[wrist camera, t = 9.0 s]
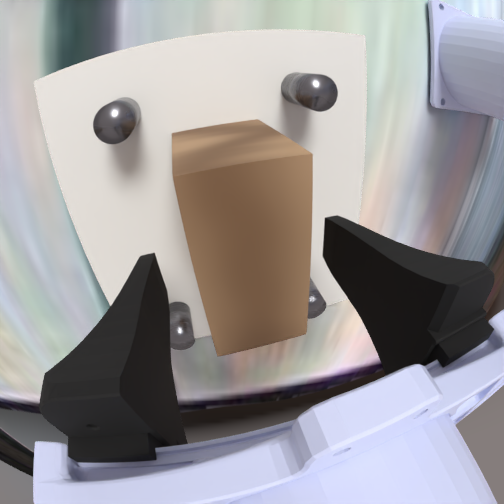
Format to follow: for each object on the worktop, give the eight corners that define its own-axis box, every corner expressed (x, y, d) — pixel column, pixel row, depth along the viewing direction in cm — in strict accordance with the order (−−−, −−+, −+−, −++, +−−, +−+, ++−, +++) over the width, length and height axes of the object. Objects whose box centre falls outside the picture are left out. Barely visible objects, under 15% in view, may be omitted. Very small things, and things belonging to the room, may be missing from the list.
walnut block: (257, 119, 13) (312, 153, 8) (267, 257, 18) (306, 333, 13) (171, 133, 13) (172, 177, 8) (200, 272, 17) (217, 356, 12)
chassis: (353, 36, 12) (395, 34, 10) (340, 289, 23) (362, 322, 20) (43, 79, 10) (8, 86, 7) (135, 337, 21) (135, 378, 18)
